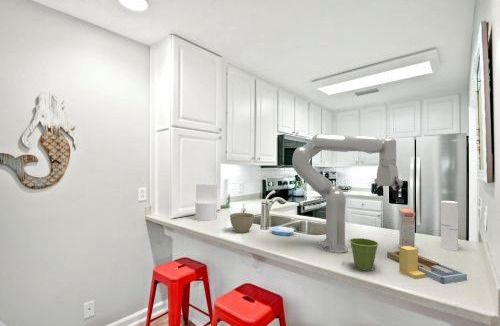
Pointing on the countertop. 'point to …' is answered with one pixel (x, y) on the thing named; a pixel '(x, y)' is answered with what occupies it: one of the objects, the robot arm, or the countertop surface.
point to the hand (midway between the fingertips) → (387, 197)
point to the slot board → (422, 261)
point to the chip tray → (445, 279)
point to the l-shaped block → (409, 262)
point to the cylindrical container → (449, 225)
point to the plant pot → (363, 252)
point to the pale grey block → (436, 269)
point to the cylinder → (206, 202)
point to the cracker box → (407, 227)
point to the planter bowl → (241, 221)
